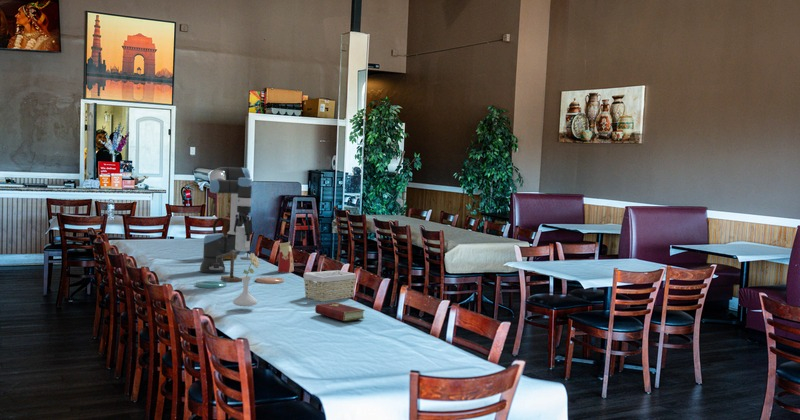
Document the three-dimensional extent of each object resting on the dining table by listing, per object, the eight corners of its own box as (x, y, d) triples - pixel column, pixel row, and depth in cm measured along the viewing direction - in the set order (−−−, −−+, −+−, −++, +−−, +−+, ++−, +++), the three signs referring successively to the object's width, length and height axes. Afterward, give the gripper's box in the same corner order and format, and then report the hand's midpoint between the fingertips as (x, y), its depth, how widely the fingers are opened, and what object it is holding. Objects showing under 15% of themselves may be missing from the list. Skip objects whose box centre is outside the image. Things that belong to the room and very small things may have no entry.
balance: (204, 280, 407) (205, 246, 406) (247, 277, 425) (248, 245, 424) (214, 283, 398) (215, 249, 397) (257, 280, 416) (259, 247, 415)
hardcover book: (343, 321, 318) (344, 311, 318) (315, 313, 333) (315, 304, 333) (364, 318, 326) (364, 309, 326) (335, 310, 341) (335, 301, 341)
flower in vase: (245, 309, 332) (247, 255, 330) (227, 305, 338) (229, 252, 336) (264, 305, 343) (266, 253, 341) (247, 302, 349) (249, 250, 347)
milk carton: (293, 272, 456) (295, 240, 454) (290, 274, 446) (291, 242, 445) (279, 271, 456) (280, 240, 455) (275, 273, 447) (276, 241, 446)
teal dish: (190, 284, 390) (190, 282, 390) (217, 282, 401) (218, 280, 401) (204, 289, 378) (204, 286, 378) (231, 287, 389) (231, 284, 389)
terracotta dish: (250, 280, 415) (250, 278, 415) (274, 278, 426) (274, 276, 426) (264, 284, 403) (264, 282, 403) (289, 282, 414) (289, 280, 414)
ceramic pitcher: (233, 262, 487) (235, 218, 485) (204, 261, 487) (205, 217, 485) (240, 259, 506) (242, 216, 505) (212, 257, 506) (213, 215, 505)
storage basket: (320, 305, 362) (321, 276, 361) (300, 300, 374) (302, 272, 373) (356, 301, 379) (357, 273, 378) (336, 296, 390) (337, 269, 390)
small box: (249, 251, 397) (250, 227, 396) (238, 251, 394) (239, 227, 393) (246, 249, 404) (246, 226, 403) (234, 249, 401) (235, 226, 400)
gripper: (228, 204, 403) (226, 244, 404) (248, 206, 387) (246, 248, 388) (240, 204, 408) (238, 243, 409) (260, 206, 392) (258, 247, 393)
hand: (242, 245), depth 399 cm, fingers closed on small box, 9 cm apart
